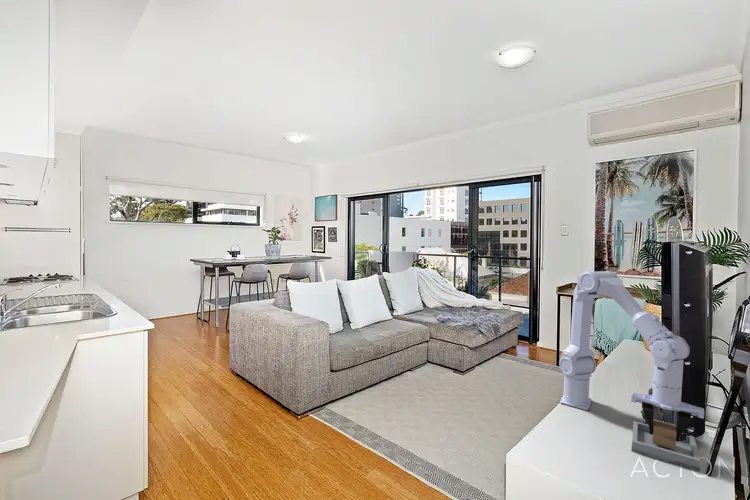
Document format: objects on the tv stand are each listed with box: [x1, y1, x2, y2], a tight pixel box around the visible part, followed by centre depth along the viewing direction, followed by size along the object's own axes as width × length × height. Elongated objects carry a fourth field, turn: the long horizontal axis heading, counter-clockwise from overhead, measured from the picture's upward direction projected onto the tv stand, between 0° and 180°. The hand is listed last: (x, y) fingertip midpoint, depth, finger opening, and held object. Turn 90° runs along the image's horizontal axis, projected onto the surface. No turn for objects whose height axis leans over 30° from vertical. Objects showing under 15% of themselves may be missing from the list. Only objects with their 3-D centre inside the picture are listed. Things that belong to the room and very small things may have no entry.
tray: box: [631, 420, 701, 472], centre depth 95 cm, size 13×13×2 cm
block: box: [652, 419, 677, 449], centre depth 95 cm, size 4×4×4 cm
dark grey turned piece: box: [640, 387, 663, 424], centre depth 106 cm, size 6×6×12 cm
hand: (663, 436), depth 95 cm, fingers closed on block, 4 cm apart
